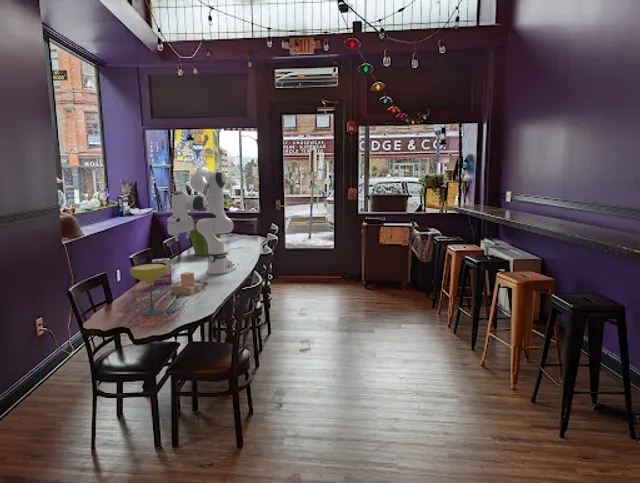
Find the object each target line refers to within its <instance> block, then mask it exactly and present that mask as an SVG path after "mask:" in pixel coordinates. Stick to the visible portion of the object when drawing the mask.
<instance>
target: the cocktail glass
mask: <svg viewBox="0 0 640 483" xmlns="http://www.w3.org/2000/svg"><path fill="white" fill-rule="evenodd" d="M129 272H130V275H131V276H132V277H133V278H134V279H137V280H139V281H142V282H145V283H146V284H147V285H148V286H149V295H150V309H145V310H143V311H141V313H140V314H141V315H142V316H146V317H151V316H157V315H160V314H163V313H164V309H161V308H154V305H153V295H152V285H154V281H155V280H157V279H158V278H160V277H162V276H163V275H165V274H166V272H167V264H166V263H161V262H152V261H151V262H141V263H138V264H134V265H132V266H130V267H129Z"/></svg>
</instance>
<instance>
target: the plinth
mask: <svg viewBox="0 0 640 483" xmlns="http://www.w3.org/2000/svg"><path fill="white" fill-rule="evenodd" d="M205 285H206V284H205V282H203V283H202V282H195V281H194V284H193V285H190V286H183V285H181V282H180V283H178V284H175V285H172V286H170V291H171V292H170V293H171V294H175V295H183V296H188V297H189V296H192V295H195V294H197V293H200V292H203V291H205V290H206V286H205Z"/></svg>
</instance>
